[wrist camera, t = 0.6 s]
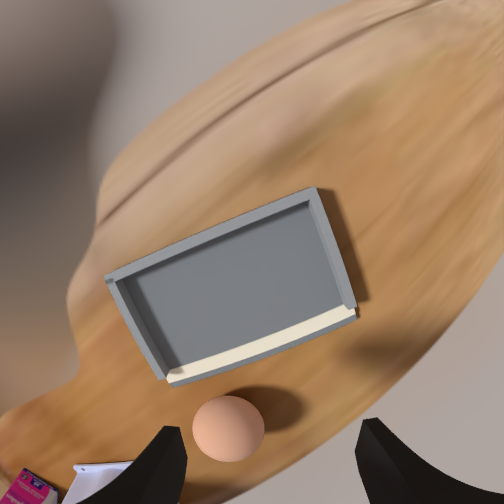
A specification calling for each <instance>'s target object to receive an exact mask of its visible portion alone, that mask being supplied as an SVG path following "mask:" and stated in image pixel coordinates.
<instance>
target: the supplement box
mask: <svg viewBox="0 0 504 504" xmlns="http://www.w3.org/2000/svg"><path fill="white" fill-rule="evenodd" d="M0 504H58V490H57V489H55V488H53V487H51V486H50V485H48V484H47V483H45V482H44V481H42V480H40V479H39V478H38V477H36V476H35V475H33V474H32V473H30V472H29V471H28V470H26V469H25V468H23V470H22V471H21V472H20V474H19V475H18V477H17V478H16V479H15V481H14V482H13V484H12V485H11V486H10V488H9V489H8V491H7V492H6V493H5V495H4V496H3V498H2V499H1V500H0Z"/></svg>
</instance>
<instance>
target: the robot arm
mask: <svg viewBox="0 0 504 504" xmlns="http://www.w3.org/2000/svg"><path fill="white" fill-rule="evenodd" d="M355 456H356V460H357V465H358V470H359V473H360V476H361V479H362V482H363V485H364V487H365V490H366V493H367V496H368V499H369V502H370V504H504V494H500V493H495V492H490V491H486V490H483V489H479V488H476V487H473V486H470V485H468V484H465V483H463V482H461V481H458V480H456V479H454V478H452V477H450V476H448V475H446V474H444V473H443V472H441V471H440V470H438V469H436V468H435V467H433V466H432V465H430V464H429V463H427V462H426V461H425V460H423V459H422V458H421V457H419V456H418V455H417V454H416V453H414V452H413V451H412V450H411V449H410V448H409V447H407V446H406V445H405V444H404V443H403V442H402V441H401V440H400V439H399V438H397V436H396V435H394V433H392V432H391V431H390V430H389V429H388V428H387V427H386V426H385V425H384V424H383V423H382V422H381V421H380V420H379V419H378V418H377V417H376V418H371V419H365V420H363V422H362V426H361V430H360V434H359V437H358V441H357V445H356V448H355ZM187 459H188V457H187V454H186V450H185V447H184V443H183V439H182V436H181V432H180V428H179V427H174V426H164V427H162V429H161V430H160V431H159V432H158V434H157V435H156V436H155V437H154V439H153V440H152V441H151V442H150V443H149V445H148V446H147V447H146V448H145V449H144V450H143V451H142V453H141V454H140V455H139V456H138V457H137V458H136V459H135V460H134V461H129V462H118V463H104V464H79V465H74V467H73V468H74V469H75V470H76V472H77V473H78V474H77V475H76V477H75V479H74V481H73V483H72V485H71V487H70V489H69V490H68V492H67V494H66V496H65V498H64V500H63V502H62V504H179V502H178V501H179V498H180V494H181V490H182V487H183V483H184V480H185V474H186V467H187Z"/></svg>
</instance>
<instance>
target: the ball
mask: <svg viewBox="0 0 504 504" xmlns="http://www.w3.org/2000/svg"><path fill="white" fill-rule="evenodd" d="M193 435H194V439H195V441H196V443H197V445H198V446H199V448H200V449H201V450H202V451H203V452H204V453H205V454H207V455H208V456H210V457H211V458H213V459H216V460H219V461H224V462H235V461H240V460H243V459H245V458H247V457H249V456H250V455H252V454H253V453H254V452H255V451H256V450H257V449H258V448H259V446H260V445H261V443H262V440H263V437H264V422H263V419H262V416H261V414H260V413H259V411H258V410H257V409H256V407H255V406H253V405H252V404H251V403H250V402H248V401H246V400H244V399H242V398H239V397H236V396H220V397H216V398H213V399H211V400H209V401H208V402H206V403H205V404H204V405H202V406H201V407H200V409H199V410H198V412H197V413H196V415H195V418H194V421H193Z"/></svg>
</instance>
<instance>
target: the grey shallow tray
mask: <svg viewBox="0 0 504 504" xmlns="http://www.w3.org/2000/svg"><path fill="white" fill-rule="evenodd" d="M103 277H104V279H105V281H106V283H107V285H108V288H109V290H110V292H111V294H112V296H113V298H114V300H115V302H116V304H117V306H118V308H119V310H120V312H121V314H122V316H123V318H124V320H125V322H126V324H127V326H128V328H129V329H130V331H131V333H132V335H133V337H134V339H135V340H136V342H137V344H138V346H139V348H140V349H141V351H142V353H143V355H144V356H145V358H146V360H147V362H148V363H149V365H150V367H151V368H152V370H153V372H154V373H155V375H156V377H157V378H158V380H162V379H167V381H168V382H169V383H170V384H171V386H172V388H174V387H177V386H181V385H184V384H187V383H191V382H194V381H197V380H201V379H204V378H207V377H210V376H213V375H217V374H220V373H223V372H226V371H229V370H232V369H235V368H238V367H240V366H243V365H246V364H249V363H252V362H255V361H257V360H260V359H263V358H266V357H268V356H271V355H274V354H276V353H279V352H281V351H284V350H287V349H289V348H292V347H294V346H297V345H299V344H302V343H304V342H307V341H309V340H311V339H314V338H316V337H319V336H321V335H323V334H326V333H328V332H330V331H333V330H335V329H337V328H339V327H342V326H344V325H346V324H348V323H350V322H353V321H355V320H357V317H356V313H355V310H354V308H355V307H357V304H356V300H355V297H354V294H353V291H352V288H351V285H350V281H349V278H348V275H347V272H346V269H345V266H344V263H343V260H342V257H341V254H340V251H339V249H338V246H337V243H336V240H335V237H334V234H333V232H332V229H331V226H330V223H329V221H328V218H327V215H326V213H325V210H324V207H323V205H322V202H321V199H320V197H319V194H318V192H317V189H316V187H315V186H312V187H308V188H306V189H303V190H301V191H298V192H296V193H293V194H291V195H288V196H286V197H283V198H281V199H278V200H276V201H273V202H271V203H268V204H266V205H263V206H261V207H258V208H256V209H253V210H251V211H248V212H246V213H244V214H241V215H239V216H236V217H234V218H232V219H229V220H227V221H224V222H222V223H220V224H217V225H215V226H213V227H210V228H208V229H206V230H203V231H201V232H199V233H196V234H194V235H192V236H189V237H187V238H185V239H182V240H180V241H178V242H176V243H173V244H171V245H169V246H167V247H164V248H162V249H160V250H158V251H155V252H153V253H151V254H149V255H146V256H144V257H142V258H140V259H138V260H135V261H133V262H131V263H129V264H127V265H125V266H122V267H120V268H118V269H116V270H114V271H112V272H110V273H108V274H107V275H105V276H103Z"/></svg>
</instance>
